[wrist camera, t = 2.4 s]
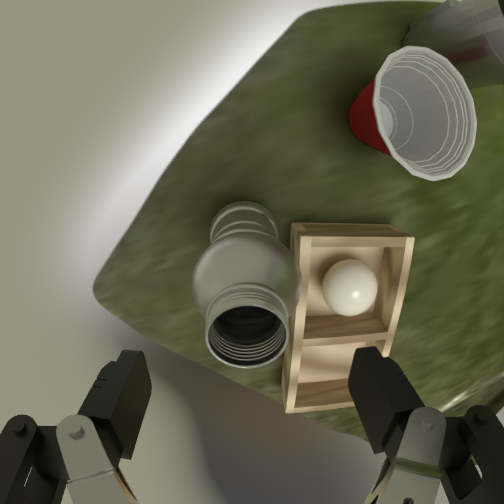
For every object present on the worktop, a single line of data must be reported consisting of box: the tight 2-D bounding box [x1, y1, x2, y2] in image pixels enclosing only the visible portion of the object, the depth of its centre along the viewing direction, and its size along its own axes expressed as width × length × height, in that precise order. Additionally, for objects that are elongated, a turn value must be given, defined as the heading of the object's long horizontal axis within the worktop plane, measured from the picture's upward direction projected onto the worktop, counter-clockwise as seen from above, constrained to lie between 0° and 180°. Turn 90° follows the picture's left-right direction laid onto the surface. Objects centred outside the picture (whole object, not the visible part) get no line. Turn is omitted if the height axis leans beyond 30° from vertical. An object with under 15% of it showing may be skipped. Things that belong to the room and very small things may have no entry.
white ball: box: [322, 259, 378, 316], centre depth 30 cm, size 6×6×6 cm
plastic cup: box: [348, 46, 477, 181], centre depth 22 cm, size 11×11×12 cm
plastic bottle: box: [191, 201, 302, 369], centre depth 22 cm, size 6×7×20 cm
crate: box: [281, 223, 415, 413], centre depth 33 cm, size 23×12×6 cm, turn 0°
